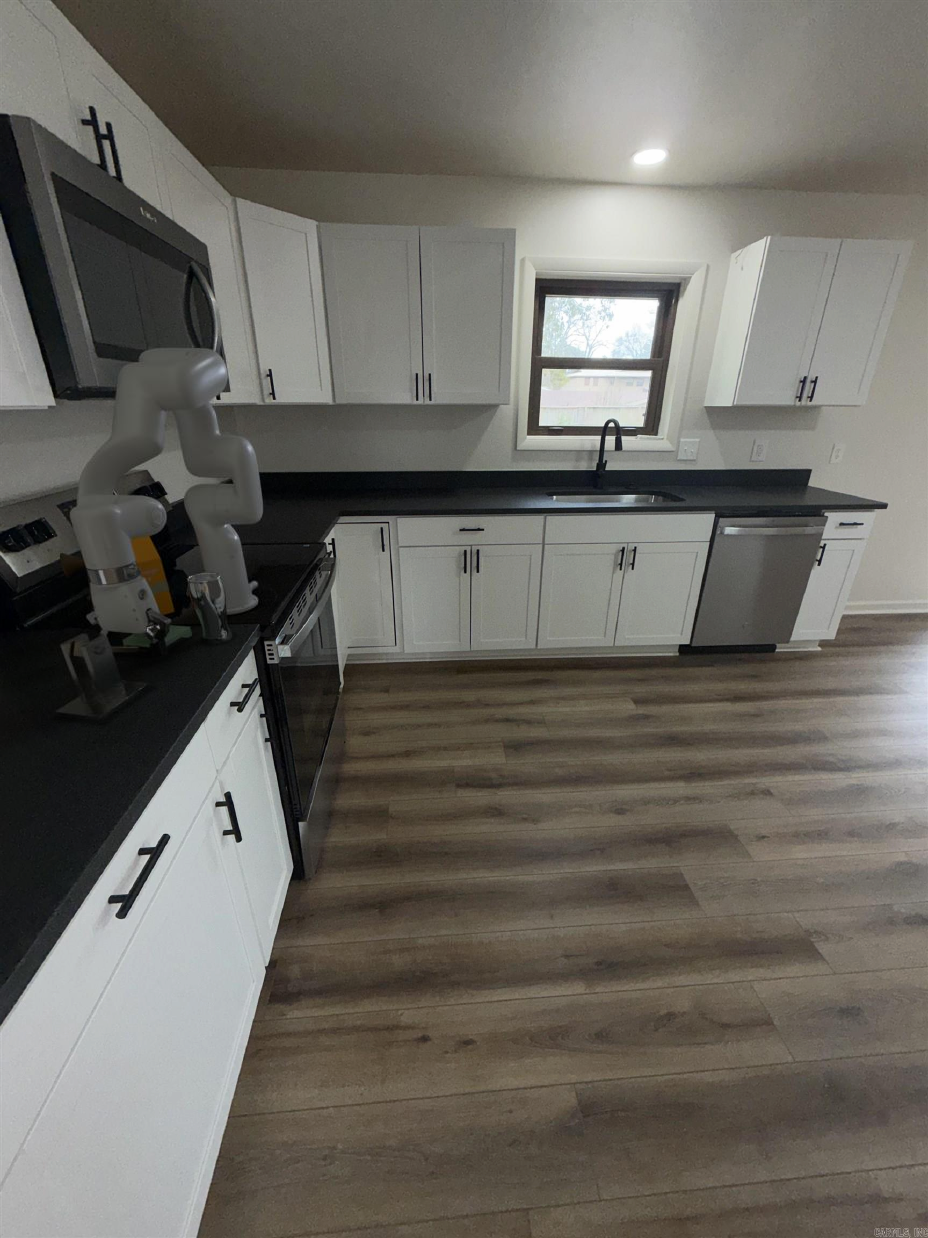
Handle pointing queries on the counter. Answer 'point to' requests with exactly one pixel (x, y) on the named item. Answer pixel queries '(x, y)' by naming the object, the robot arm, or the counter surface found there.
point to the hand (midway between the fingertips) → (139, 656)
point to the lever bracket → (95, 678)
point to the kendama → (74, 569)
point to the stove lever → (115, 649)
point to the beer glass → (210, 605)
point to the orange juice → (153, 572)
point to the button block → (144, 641)
